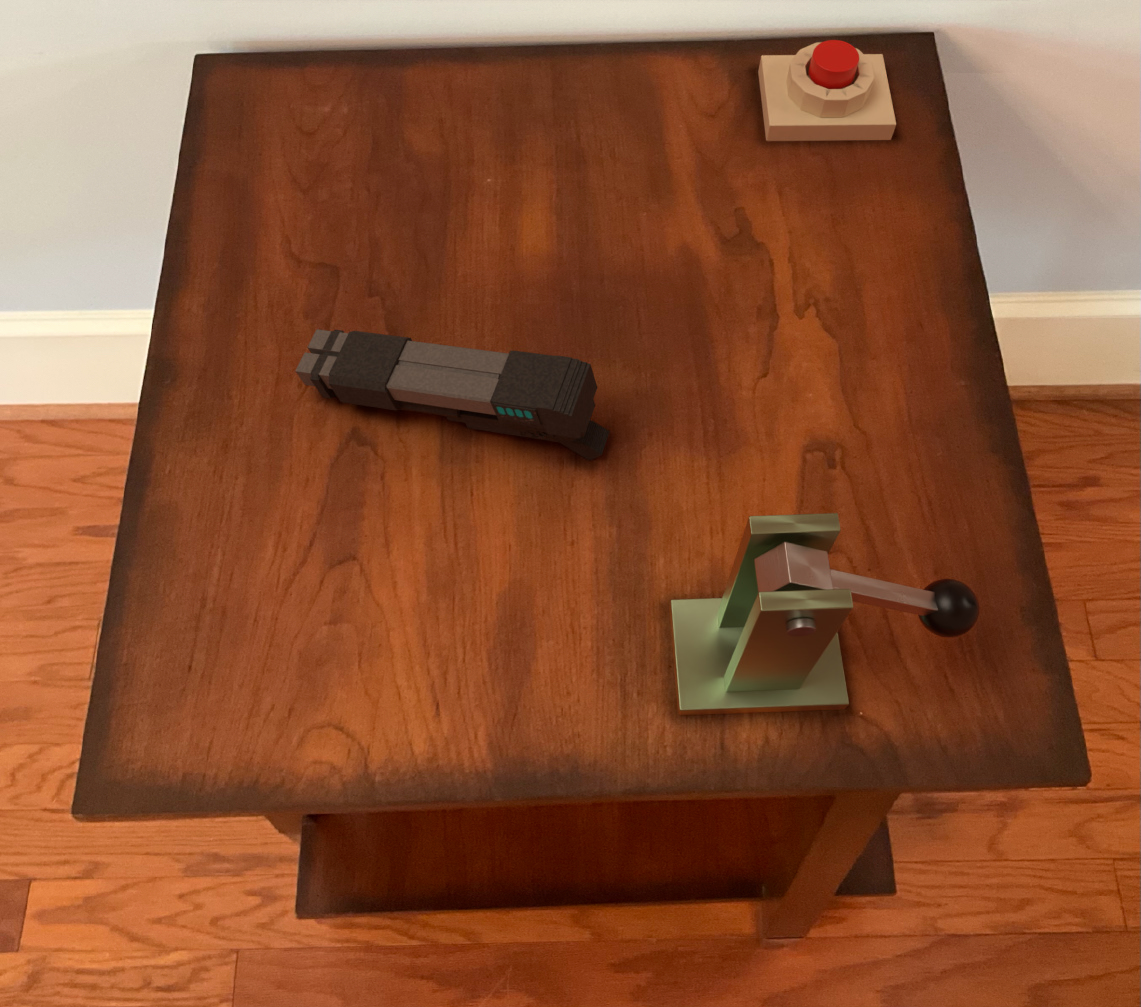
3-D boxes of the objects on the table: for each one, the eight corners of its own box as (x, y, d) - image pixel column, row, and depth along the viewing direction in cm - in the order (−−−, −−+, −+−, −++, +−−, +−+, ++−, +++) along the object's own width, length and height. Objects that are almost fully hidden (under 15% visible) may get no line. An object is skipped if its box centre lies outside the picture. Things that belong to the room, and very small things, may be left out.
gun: (605, 478, 67) (552, 388, 59) (363, 457, 76) (289, 376, 68) (623, 422, 69) (574, 328, 61) (386, 408, 78) (316, 324, 70)
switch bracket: (827, 600, 64) (891, 492, 50) (845, 709, 60) (917, 625, 47) (668, 605, 63) (690, 499, 50) (677, 715, 60) (703, 633, 47)
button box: (877, 70, 85) (888, 34, 81) (891, 140, 81) (903, 105, 78) (758, 71, 85) (764, 35, 82) (766, 141, 81) (773, 106, 78)
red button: (851, 57, 81) (856, 39, 79) (856, 89, 79) (862, 71, 78) (806, 58, 81) (810, 39, 79) (810, 90, 79) (815, 71, 78)
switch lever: (939, 595, 58) (984, 575, 56) (950, 648, 57) (997, 630, 54) (747, 552, 52) (788, 528, 49) (754, 611, 50) (797, 589, 48)
